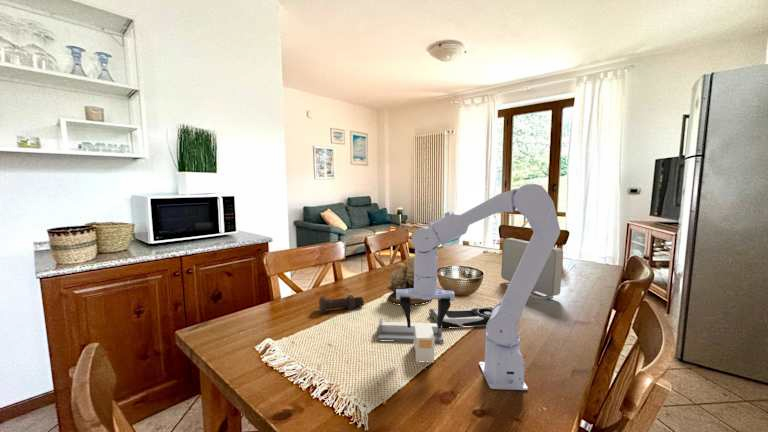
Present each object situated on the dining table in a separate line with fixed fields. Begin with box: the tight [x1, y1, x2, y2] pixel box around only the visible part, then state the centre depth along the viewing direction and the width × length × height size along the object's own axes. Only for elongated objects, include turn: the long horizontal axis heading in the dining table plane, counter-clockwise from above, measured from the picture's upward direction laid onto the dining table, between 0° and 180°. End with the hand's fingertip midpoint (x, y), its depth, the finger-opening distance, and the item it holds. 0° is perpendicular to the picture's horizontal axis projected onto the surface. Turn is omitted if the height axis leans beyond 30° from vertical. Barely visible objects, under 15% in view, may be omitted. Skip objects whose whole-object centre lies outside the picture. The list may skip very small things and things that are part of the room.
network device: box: [500, 237, 564, 300], centre depth 127 cm, size 26×9×20 cm, turn 25°
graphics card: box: [428, 306, 494, 329], centre depth 99 cm, size 10×3×25 cm
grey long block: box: [377, 317, 444, 343], centre depth 90 cm, size 9×18×4 cm, turn 88°
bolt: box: [318, 294, 365, 314], centre depth 107 cm, size 6×5×15 cm
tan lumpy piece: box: [387, 255, 433, 306], centre depth 116 cm, size 18×12×17 cm, turn 106°
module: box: [413, 322, 436, 363], centre depth 80 cm, size 8×4×6 cm, turn 178°
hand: (423, 326), depth 79 cm, fingers open, 7 cm apart
